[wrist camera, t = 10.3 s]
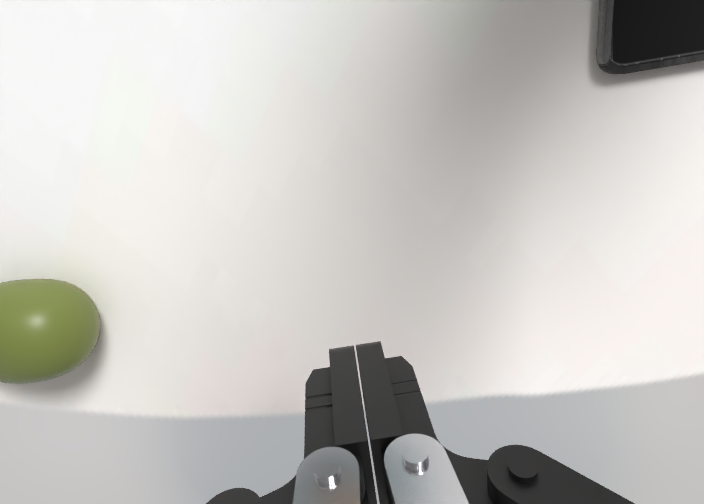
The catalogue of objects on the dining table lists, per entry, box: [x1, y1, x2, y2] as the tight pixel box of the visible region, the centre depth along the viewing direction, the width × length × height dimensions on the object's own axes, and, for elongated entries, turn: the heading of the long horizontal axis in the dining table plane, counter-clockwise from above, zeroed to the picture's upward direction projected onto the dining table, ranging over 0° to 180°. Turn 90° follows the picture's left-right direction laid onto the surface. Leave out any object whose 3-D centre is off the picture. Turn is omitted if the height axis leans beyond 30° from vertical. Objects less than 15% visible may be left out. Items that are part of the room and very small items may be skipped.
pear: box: [0, 279, 100, 383], centre depth 25 cm, size 6×5×10 cm
